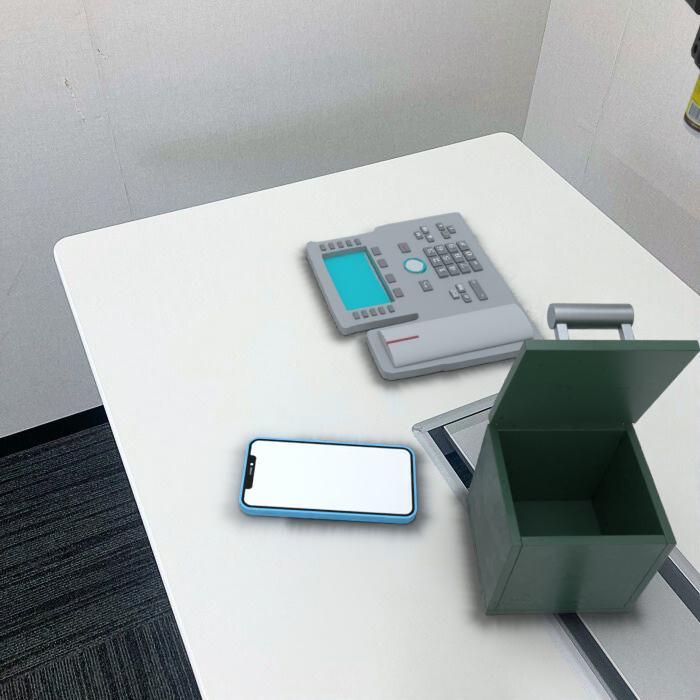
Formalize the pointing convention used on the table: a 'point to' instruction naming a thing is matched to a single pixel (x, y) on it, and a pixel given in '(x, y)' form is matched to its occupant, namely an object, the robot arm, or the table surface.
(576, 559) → the waste bin
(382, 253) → the office telephone
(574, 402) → the bin lid
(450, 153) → the table surface
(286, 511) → the smartphone
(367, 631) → the table surface
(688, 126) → the supplement bottle
